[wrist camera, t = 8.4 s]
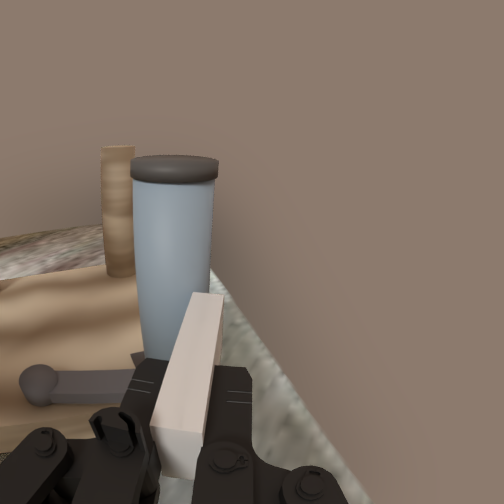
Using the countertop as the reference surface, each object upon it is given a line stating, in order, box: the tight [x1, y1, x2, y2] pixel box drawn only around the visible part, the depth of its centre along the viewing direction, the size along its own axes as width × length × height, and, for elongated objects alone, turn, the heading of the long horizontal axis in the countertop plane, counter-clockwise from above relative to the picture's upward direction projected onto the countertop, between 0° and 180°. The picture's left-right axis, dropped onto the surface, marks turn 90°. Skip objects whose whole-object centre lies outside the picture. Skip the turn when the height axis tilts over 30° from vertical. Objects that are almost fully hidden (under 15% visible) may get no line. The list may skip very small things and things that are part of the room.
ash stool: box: [0, 145, 145, 453], centre depth 18 cm, size 18×18×14 cm
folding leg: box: [19, 155, 219, 407], centre depth 13 cm, size 11×3×12 cm, turn 108°
